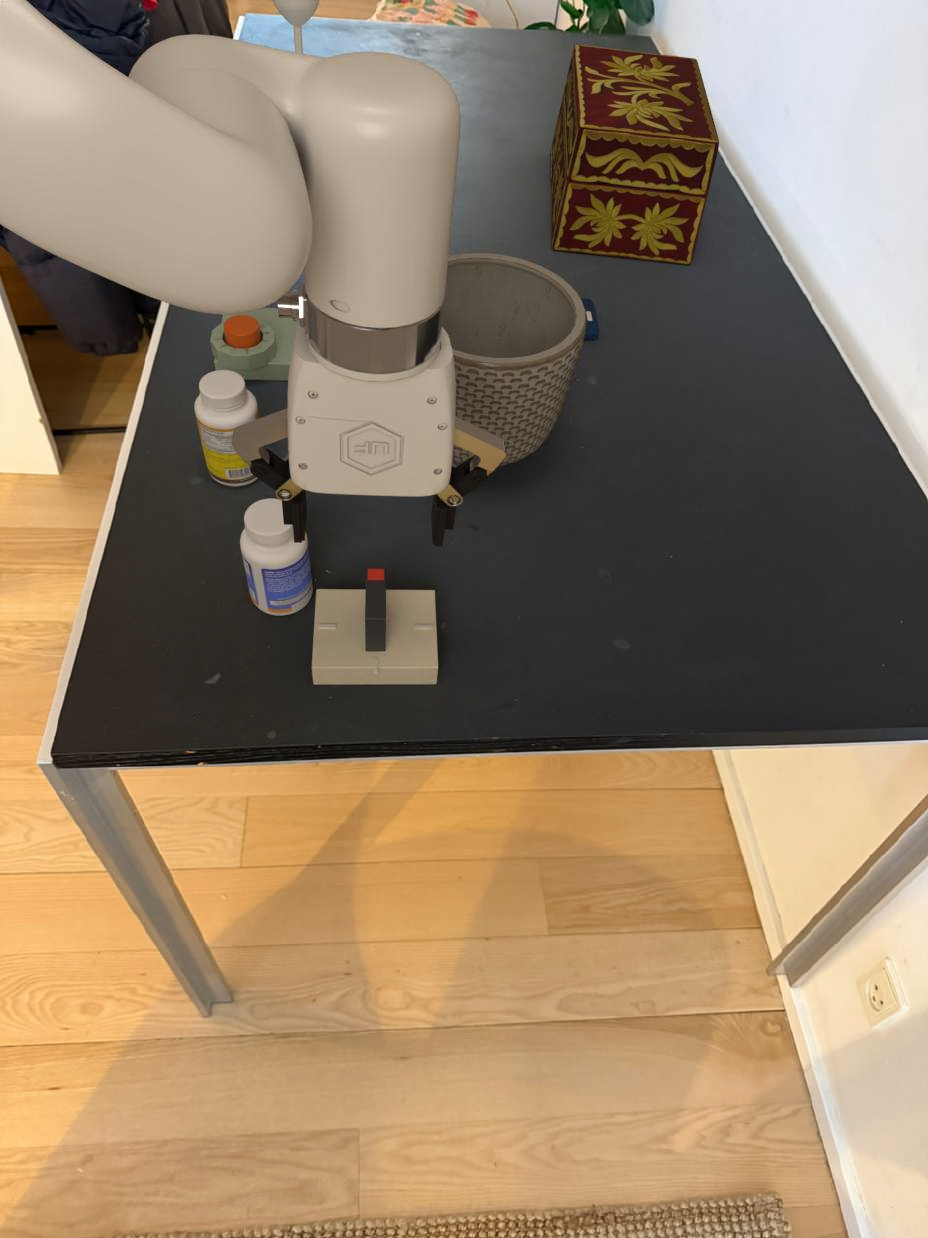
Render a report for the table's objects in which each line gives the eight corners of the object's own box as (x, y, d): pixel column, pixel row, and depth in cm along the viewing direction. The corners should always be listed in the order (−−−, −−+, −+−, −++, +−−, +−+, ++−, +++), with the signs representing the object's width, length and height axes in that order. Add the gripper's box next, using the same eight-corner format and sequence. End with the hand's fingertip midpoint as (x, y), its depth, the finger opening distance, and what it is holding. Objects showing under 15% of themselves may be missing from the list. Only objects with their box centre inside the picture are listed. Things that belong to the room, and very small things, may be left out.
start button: (223, 349, 89) (221, 334, 88) (227, 328, 91) (225, 313, 90) (259, 350, 89) (257, 336, 88) (262, 329, 92) (260, 315, 90)
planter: (357, 424, 89) (355, 283, 76) (488, 370, 96) (505, 233, 84) (458, 527, 82) (474, 390, 69) (592, 460, 89) (628, 324, 76)
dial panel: (312, 691, 69) (310, 673, 67) (318, 601, 75) (316, 581, 73) (436, 691, 70) (438, 673, 68) (433, 602, 76) (434, 582, 74)
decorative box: (691, 266, 113) (729, 147, 101) (551, 250, 112) (572, 129, 101) (672, 166, 130) (702, 54, 118) (549, 152, 129) (567, 38, 117)
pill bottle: (324, 583, 76) (318, 505, 68) (292, 627, 73) (282, 550, 65) (271, 561, 77) (260, 482, 70) (237, 603, 74) (221, 525, 66)
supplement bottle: (233, 442, 86) (218, 355, 78) (278, 464, 85) (267, 379, 77) (195, 473, 83) (175, 387, 75) (240, 497, 82) (225, 412, 73)
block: (213, 386, 91) (207, 354, 88) (224, 322, 98) (219, 290, 94) (330, 389, 92) (328, 358, 89) (334, 326, 99) (332, 295, 96)
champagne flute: (332, 99, 134) (326, -96, 115) (300, 110, 131) (287, -88, 112) (303, 83, 136) (291, -110, 117) (270, 95, 133) (253, -102, 114)
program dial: (385, 651, 69) (386, 617, 66) (365, 651, 69) (364, 616, 65) (385, 602, 72) (386, 566, 69) (366, 602, 72) (365, 566, 68)
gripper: (205, 351, 45) (239, 567, 58) (535, 368, 47) (493, 573, 60) (221, 270, 49) (249, 488, 63) (521, 289, 51) (486, 496, 65)
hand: (369, 530), depth 61 cm, fingers open, 9 cm apart
